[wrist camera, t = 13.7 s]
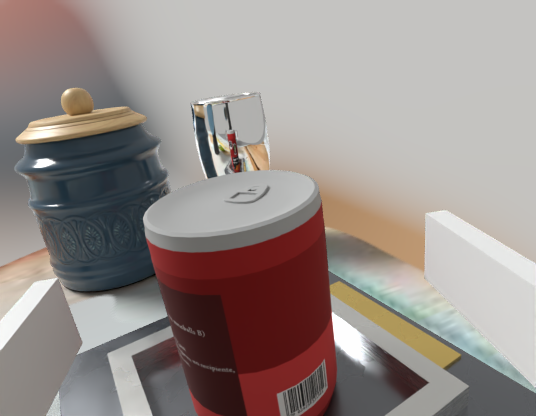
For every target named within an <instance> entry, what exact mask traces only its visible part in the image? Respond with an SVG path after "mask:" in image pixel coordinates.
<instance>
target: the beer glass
mask: <svg viewBox="0 0 536 416" xmlns="http://www.w3.org/2000/svg"><path fill="white" fill-rule="evenodd" d="M190 104H191V108H192V117H193V126H194V133H195V140H196V145H197V150H198V155H199V159H200V162H201V166H202V169H203V172H204V175H205V177H206V179H209V178H213V177H217V176H222V175H227V174H232V173H239V172H246V171H258V170H270V149H269V139H268V132H267V126H266V120H265V116H264V111H263V106H262V101H261V96H260V92H250V93H240V94H232V95H224V96H218V97H211V98H206V99H201V100H197V101H193V102H191V103H190Z"/></svg>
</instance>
